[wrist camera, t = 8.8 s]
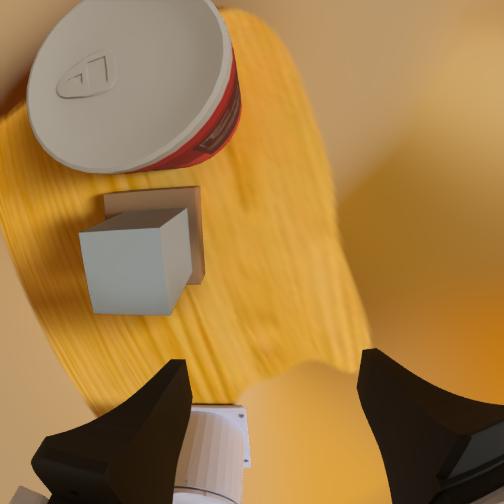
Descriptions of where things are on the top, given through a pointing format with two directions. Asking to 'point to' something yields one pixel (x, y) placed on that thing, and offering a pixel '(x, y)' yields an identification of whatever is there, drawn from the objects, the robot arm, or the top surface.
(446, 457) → the robot arm
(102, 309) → the grey block
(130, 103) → the canned food
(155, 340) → the top surface
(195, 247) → the walnut block
